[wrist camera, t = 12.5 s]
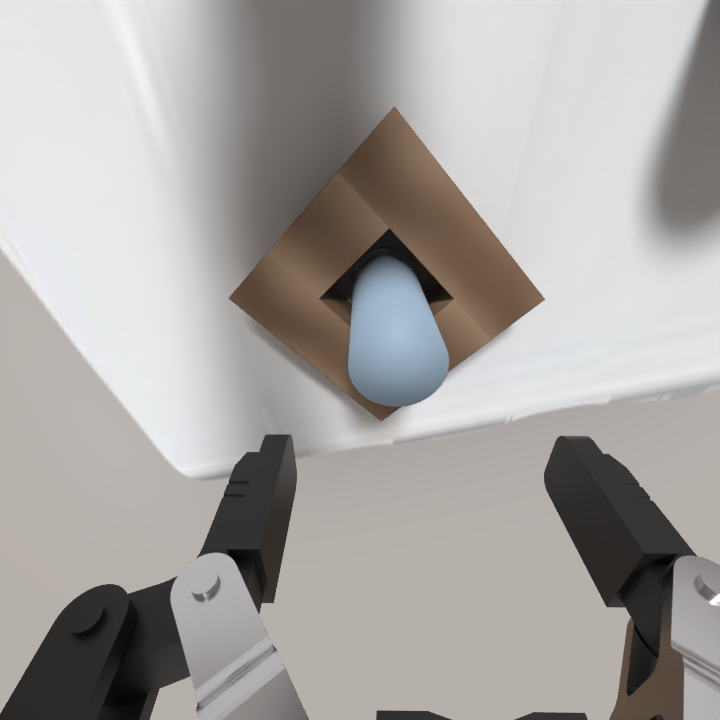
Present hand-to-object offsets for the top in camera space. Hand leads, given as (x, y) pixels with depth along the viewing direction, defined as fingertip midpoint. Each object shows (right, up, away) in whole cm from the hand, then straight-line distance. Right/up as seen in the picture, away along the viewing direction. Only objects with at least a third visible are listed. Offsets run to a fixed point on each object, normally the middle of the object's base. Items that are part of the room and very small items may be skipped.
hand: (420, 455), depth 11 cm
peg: (0, +9, +15) cm, 17 cm away
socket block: (0, +9, +15) cm, 17 cm away
